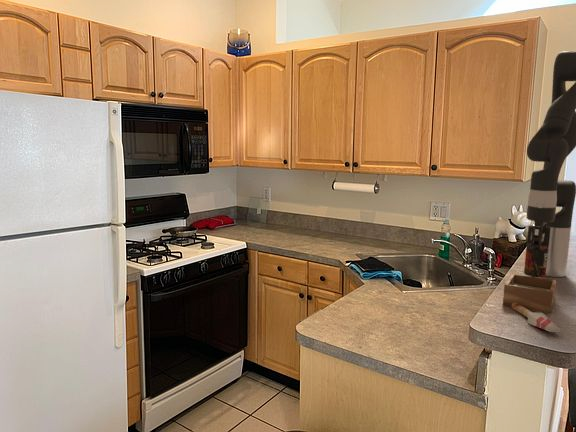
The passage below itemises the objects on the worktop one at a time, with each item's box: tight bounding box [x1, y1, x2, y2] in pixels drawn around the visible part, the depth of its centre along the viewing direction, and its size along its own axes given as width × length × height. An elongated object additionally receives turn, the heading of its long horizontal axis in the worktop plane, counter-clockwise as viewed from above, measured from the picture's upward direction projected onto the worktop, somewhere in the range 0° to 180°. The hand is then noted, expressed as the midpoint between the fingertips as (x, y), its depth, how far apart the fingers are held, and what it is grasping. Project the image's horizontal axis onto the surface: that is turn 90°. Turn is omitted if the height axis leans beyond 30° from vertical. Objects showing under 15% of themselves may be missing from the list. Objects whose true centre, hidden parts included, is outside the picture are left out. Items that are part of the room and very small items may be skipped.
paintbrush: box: [510, 303, 563, 333], centre depth 112 cm, size 4×3×20 cm
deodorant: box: [523, 224, 551, 278], centre depth 137 cm, size 6×6×15 cm
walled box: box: [502, 273, 557, 315], centre depth 126 cm, size 14×12×6 cm
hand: (536, 258), depth 137 cm, fingers closed on deodorant, 6 cm apart
